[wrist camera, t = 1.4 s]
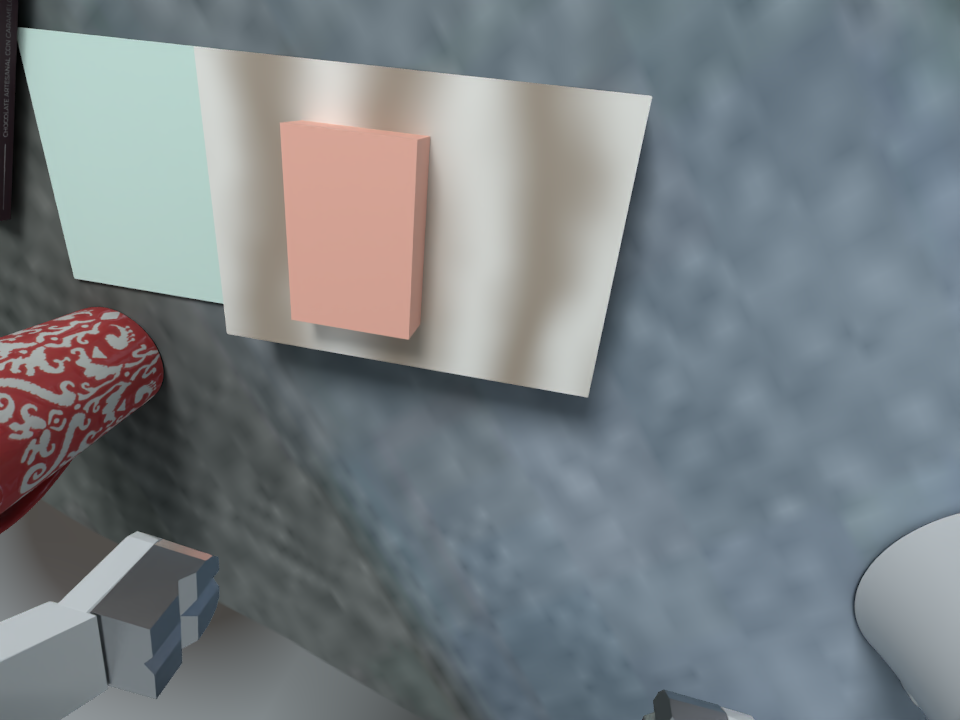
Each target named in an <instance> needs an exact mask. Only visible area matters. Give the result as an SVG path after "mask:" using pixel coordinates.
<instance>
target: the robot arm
mask: <svg viewBox="0 0 960 720" xmlns="http://www.w3.org/2000/svg"><path fill="white" fill-rule="evenodd" d="M218 571H219V560H218V557H217V556H214V555H211V554H207V553H204V552H201V551H198V550H195V549H192V548H189V547H186V546H183V545H180V544H177V543H174V542H170V541H167V540H165V539H162V538H158V537H155V536H152V535H148V534H145V533H142V532H139V531H137V532H135V533H133V534H131V535H129V536H128V537H126V538H125V539H124V540H123V541H122V542H121V543H120V544H119V545H118V546H117V547H116V548H115V549H114V550H113V551H112V552H111V553H110V554H108V555H107V556H106V557H105V558H104V559H103V560H102V561H101V562H100V563H99V564H98V565H97V566H96V567H95V568H94V569H93V570H92V571H91V572H90V573H89V574H88V575H87V576H86V577H85V578H84V579H83V580H82V581H81V582H80V583H79V584H78V585H77V586H76V587H74V588H73V590H71V591H70V592H69V593H68V595H66V596H65V597H64V598H63V599H62V600H61V601H60V602H59V603H56V602H52V601H49V602H47V603H44V604H42V605H40V606H37V607H35V608H32V609H30V610H28V611H25V612H23V613H21V614H19V615H16V616H14V617H11V618H9V619H6V620H4V621H2V622H0V720H61V719H62V718H64V717H66V716H67V715H69V714H70V713H71V712H73V711H75V710H76V709H78V708H79V707H81V706H83V705H84V704H86V703H87V702H89V701H90V700H92V699H93V698H95V697H97V696H98V695H100V694H101V693H103V692H104V691H106V690H107V689H108V686H111V687H115V688H118V689H122V690H125V691H129V692H132V693H136V694H139V695H143V696H147V697H150V698H153V699H157V698H158V696H159V695H160V694H161V692H162V691H163V689H164V688H165V686H166V685H167V684H168V682H169V681H170V679H171V678H172V677H173V675H174V674H175V672H176V671H177V670H178V668H179V667H180V665H181V664H182V648H184V647H186V646H188V645H190V644H192V643H193V642H195V641H197V640H199V638H200V637H201V635H202V634H203V632H204V631H205V629H206V628H207V626H208V625H209V623H210V621H211V618H212V616H213V614H214V612H215V610H216V607H217V603H218V599H219V586H218V585H217V583H216V582H215V580H214V579H213V577H214V576H215V575H216V573H217V572H218ZM855 615H856V620H857V623H858V626H859V628H860V630H861V632H862V634H863V635H864V637H865V638H866V640H867V641H868V642H869V643H870V644H871V646H872V647H873V648H874V649H875V650H876V651H877V652H878V653H879V655H880V656H881V657H882V658H883V659H884V660H885V662H886V663H887V664H888V665H889V666H890V668H891V669H892V670H893V671H894V673H895V674H896V675H897V677H898V678H899V680H900V681H901V684H902V686H903V688H904V689H905V691H906V692H907V694H908V695H909V697H910V698H911V700H912V701H913V703H914V704H915V705H916V706H918V707H920V708H921V710H922V711H923V713H924V714H925V716H926V717H927V719H928V720H960V513H959V514H955V515H952V516H948V517H945V518H942V519H940V520H937V521H934V522H932V523H929V524H927V525H925V526H923V527H920V528H919V529H917V530H915V531H913V532H911V533H909V534H907V535H906V536H904V537H902V538H901V539H899V540H898V541H896V542H895V543H894V544H892V545H891V546H890V547H888V548H887V549H886V550H885V551H884V552H883V553H882V554H880V555H879V556H878V557H877V558H876V560H875V561H874V562H873V563H872V564H871V565H870V567H869V568H868V569H867V571H866V572H865V574H864V576H863V577H862V579H861V581H860V584H859V586H858V589H857V593H856V597H855ZM653 704H654V712H653V713H650V714H648V715H645V716H644V717H643V719H642V720H754V719H753V717H752V716H750V715H748V714H745V713H741V712H738V711H734V710H730V709H727V708H723V707H720V706H719V705H717V704H713V703H710V702H706V701H702V700H699V699H695V698H692V697H688V696H685V695H681V694H678V693H674V692H671V691H667V690H662V691H660V692H658V694H657V695H656V697H655V699H654V700H653Z"/></svg>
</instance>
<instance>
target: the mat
mask: <svg viewBox="0 0 960 720" xmlns="http://www.w3.org/2000/svg"><path fill="white" fill-rule="evenodd" d="M17 41H18V46H19V50H20V54H21V58H22V62H23V66H24V71H25V75H26V79H27V83H28V87H29V91H30V96H31V100H32V104H33V108H34V112H35V116H36V121H37V125H38V129H39V133H40V137H41V141H42V146H43V150H44V154H45V158H46V162H47V166H48V171H49V175H50V179H51V183H52V187H53V191H54V196H55V200H56V204H57V208H58V212H59V216H60V221H61V225H62V229H63V233H64V237H65V241H66V246H67V250H68V254H69V258H70V262H71V266H72V271H73V275H74V278H75V279H81V280H86V281H92V282H98V283H104V284H110V285H116V286H122V287H128V288H134V289H139V290H145V291H151V292H157V293H163V294H169V295H175V296H181V297H186V298H192V299H198V300H204V301H210V302H216V303H222V304H224V303H223V294H222V286H221V277H220V269H219V260H218V252H217V243H216V234H215V226H214V217H213V209H212V200H211V192H210V183H209V175H208V166H207V157H206V149H205V140H204V132H203V123H202V115H201V106H200V98H199V89H198V81H197V72H196V63H195V55H194V46H187V45H178V44H169V43H160V42H151V41H141V40H132V39H123V38H114V37H104V36H95V35H86V34H77V33H68V32H58V31H49V30H40V29H31V28H22V27H17ZM196 47H197V46H196ZM205 48H206V47H205ZM214 49H215V48H214Z"/></svg>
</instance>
